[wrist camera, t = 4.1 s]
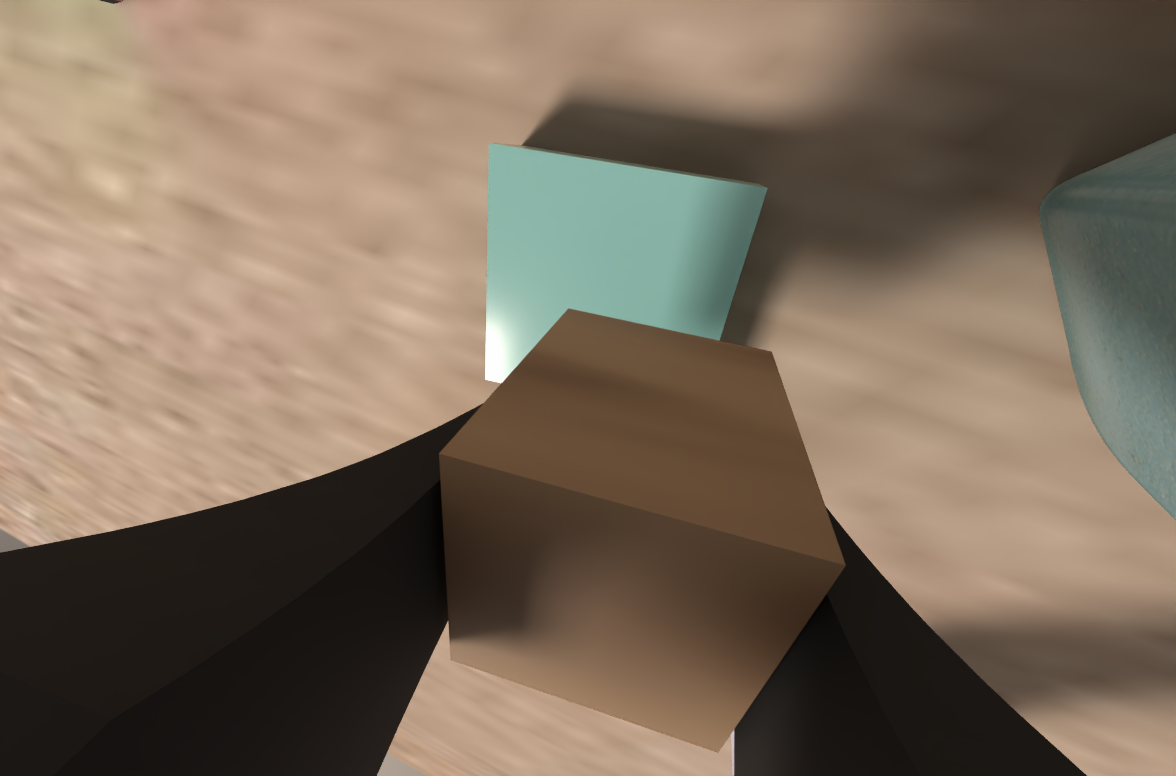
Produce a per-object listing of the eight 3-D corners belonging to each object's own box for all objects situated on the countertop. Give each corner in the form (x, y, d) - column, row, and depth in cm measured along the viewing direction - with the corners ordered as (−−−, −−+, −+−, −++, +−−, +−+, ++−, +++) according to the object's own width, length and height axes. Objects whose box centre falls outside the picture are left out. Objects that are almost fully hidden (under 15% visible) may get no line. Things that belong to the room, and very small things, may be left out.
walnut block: (712, 503, 11) (718, 752, 7) (550, 460, 12) (450, 659, 7) (771, 351, 9) (844, 565, 4) (568, 308, 10) (438, 453, 5)
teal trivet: (693, 391, 18) (691, 430, 15) (515, 349, 19) (485, 378, 16) (756, 182, 14) (767, 187, 11) (525, 145, 15) (489, 142, 12)
